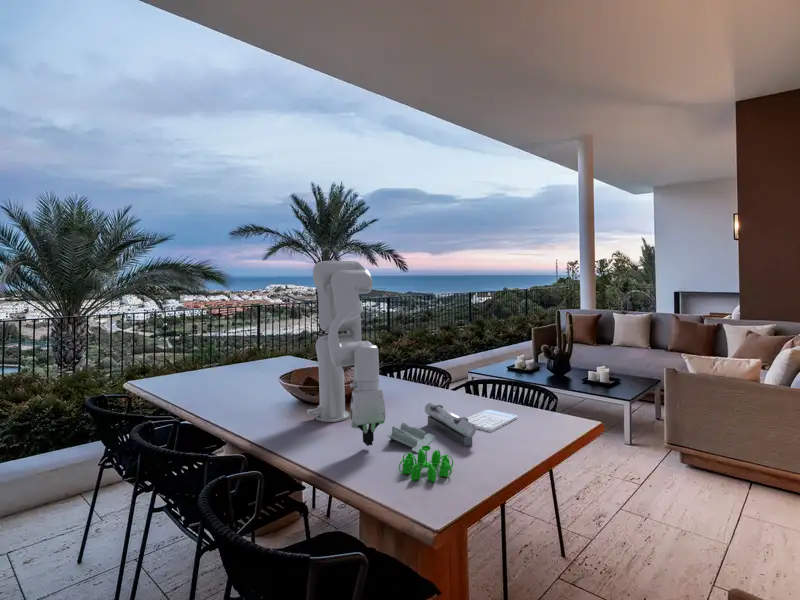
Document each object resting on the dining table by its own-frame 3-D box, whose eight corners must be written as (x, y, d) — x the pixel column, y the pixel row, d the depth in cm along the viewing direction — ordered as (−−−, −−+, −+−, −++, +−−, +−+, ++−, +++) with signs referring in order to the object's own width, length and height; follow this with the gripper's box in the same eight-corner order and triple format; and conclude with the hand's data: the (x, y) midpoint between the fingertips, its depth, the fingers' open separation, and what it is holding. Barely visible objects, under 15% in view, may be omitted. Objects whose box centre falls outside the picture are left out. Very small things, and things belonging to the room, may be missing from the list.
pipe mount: (464, 448, 131) (463, 424, 131) (424, 423, 155) (424, 403, 155) (476, 445, 133) (475, 422, 133) (435, 421, 157) (435, 401, 156)
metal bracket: (383, 431, 132) (401, 416, 146) (378, 448, 133) (397, 432, 147) (425, 450, 127) (440, 433, 141) (420, 467, 128) (436, 449, 141)
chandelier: (404, 488, 107) (404, 461, 106) (394, 463, 121) (393, 439, 121) (462, 482, 110) (462, 455, 109) (444, 458, 124) (444, 435, 124)
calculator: (458, 425, 154) (458, 420, 154) (487, 412, 168) (487, 407, 168) (490, 434, 145) (490, 428, 145) (519, 419, 159) (518, 414, 159)
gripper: (346, 390, 125) (348, 452, 126) (394, 384, 131) (395, 444, 132) (339, 385, 132) (341, 444, 133) (385, 380, 138) (386, 436, 139)
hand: (368, 444), depth 132 cm, fingers closed
